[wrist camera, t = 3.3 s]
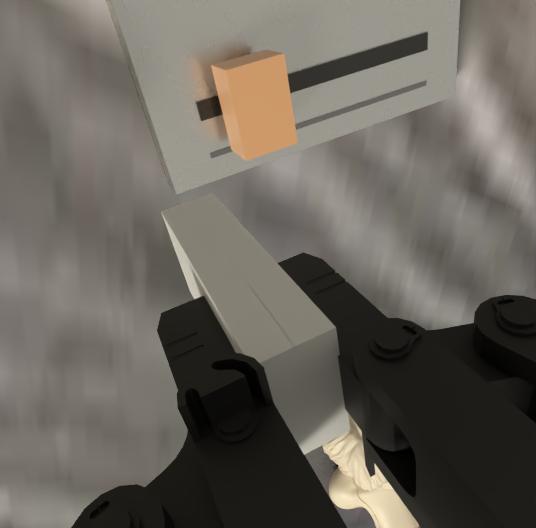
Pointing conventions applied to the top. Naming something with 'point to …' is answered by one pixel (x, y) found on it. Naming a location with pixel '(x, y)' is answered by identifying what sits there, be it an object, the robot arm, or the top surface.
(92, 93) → the top surface
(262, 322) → the robot arm
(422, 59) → the console
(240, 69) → the fader
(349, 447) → the figurine
